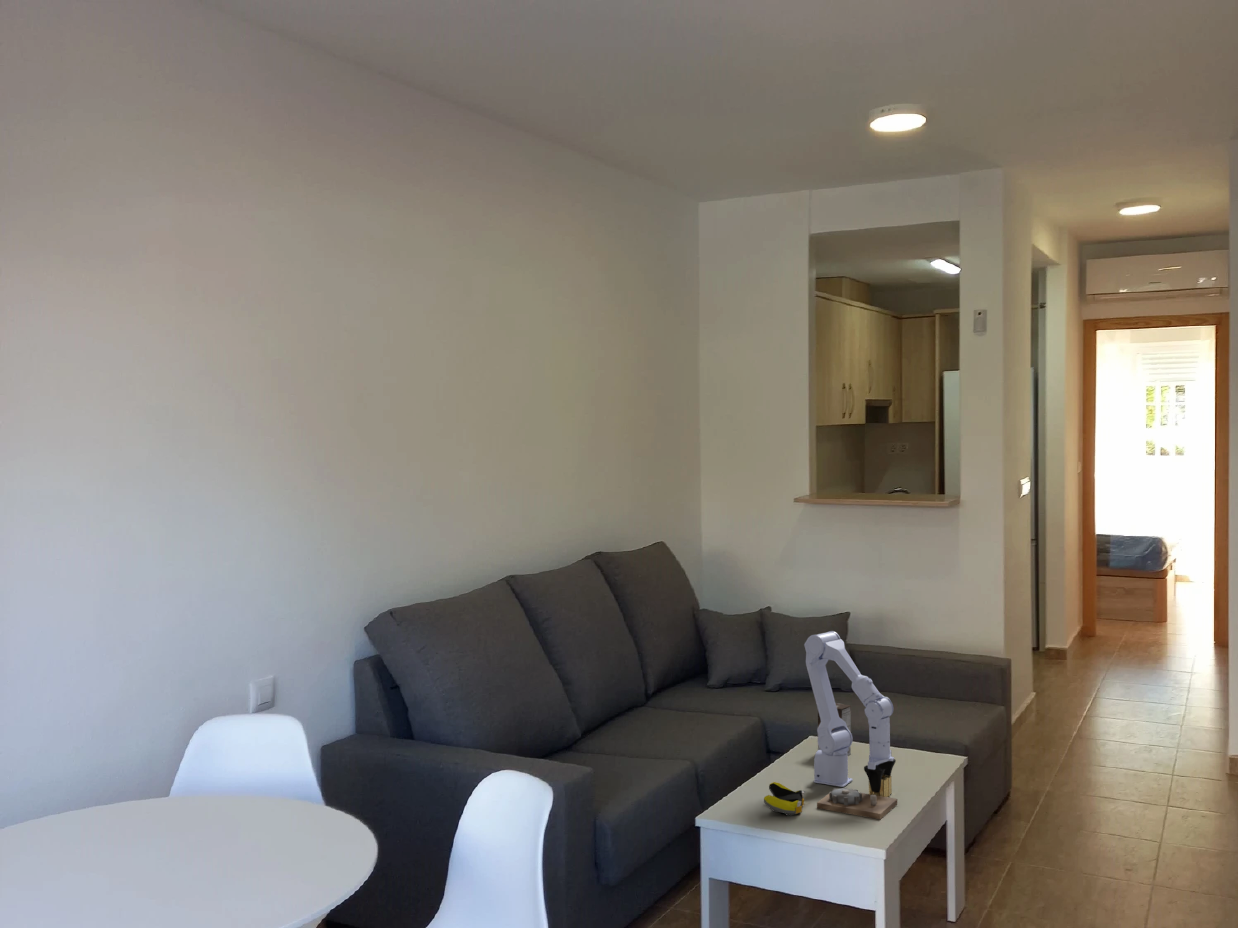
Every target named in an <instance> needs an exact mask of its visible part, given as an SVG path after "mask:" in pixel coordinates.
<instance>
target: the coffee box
mask: <svg viewBox="0 0 1238 928" xmlns="http://www.w3.org/2000/svg"><path fill="white" fill-rule="evenodd" d="M835 703H836V707H837V711H838V715H839V717H840V718H841V719H842V720H843V721H845V722H846V725H847V728H848V729H849V731H850V732H852V727H851V721H852V720H851V718H852V716H851V715H852V713H851V712H852V709H851V707H852V706H851V705H849V704H844V703H839V702H835ZM820 723H821V719H820V715H819V712H818V711H817V728H818V727H819V725H820ZM832 730H834V729H832ZM851 746H852V745H851ZM851 746H850V747H849V751H848V756H850V755H851V753H852V750H851V749H852V748H851ZM818 750H821V749H820V748H819V746H818V745H817V751H818Z"/></svg>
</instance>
